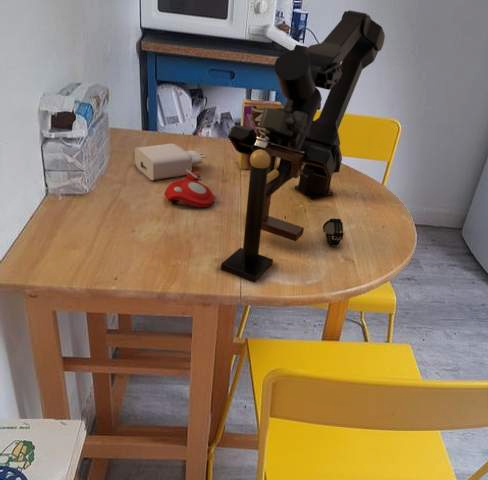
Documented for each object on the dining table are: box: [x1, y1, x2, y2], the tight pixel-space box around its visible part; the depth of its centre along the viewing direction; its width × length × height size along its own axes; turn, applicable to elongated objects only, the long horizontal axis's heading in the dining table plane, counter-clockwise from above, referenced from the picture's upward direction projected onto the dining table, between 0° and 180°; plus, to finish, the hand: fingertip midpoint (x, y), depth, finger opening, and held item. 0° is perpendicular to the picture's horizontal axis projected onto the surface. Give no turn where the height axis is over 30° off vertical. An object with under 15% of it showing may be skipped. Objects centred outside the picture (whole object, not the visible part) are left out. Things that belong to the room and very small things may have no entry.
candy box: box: [237, 98, 284, 170], centre depth 116 cm, size 9×4×15 cm, turn 99°
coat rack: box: [220, 150, 279, 283], centre depth 79 cm, size 10×6×20 cm, turn 154°
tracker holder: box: [164, 170, 215, 208], centre depth 102 cm, size 12×4×10 cm
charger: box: [134, 143, 207, 181], centre depth 112 cm, size 5×9×15 cm
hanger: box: [261, 145, 305, 242], centre depth 85 cm, size 3×9×14 cm, turn 64°
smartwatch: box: [322, 218, 345, 247], centre depth 92 cm, size 4×5×5 cm
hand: (261, 194), depth 85 cm, fingers closed on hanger, 2 cm apart
